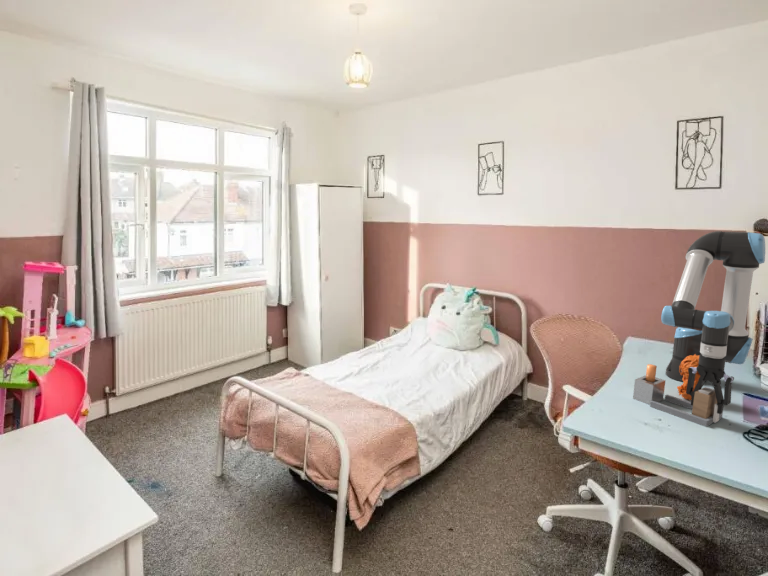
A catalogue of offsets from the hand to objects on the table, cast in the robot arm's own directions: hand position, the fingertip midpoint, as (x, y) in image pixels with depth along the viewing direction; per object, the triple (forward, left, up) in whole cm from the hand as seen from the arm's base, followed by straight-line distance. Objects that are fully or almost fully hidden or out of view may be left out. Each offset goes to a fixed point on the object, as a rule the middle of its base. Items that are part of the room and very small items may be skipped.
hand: (705, 417), depth 166 cm
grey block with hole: (0, -20, 0) cm, 20 cm away
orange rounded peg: (0, -20, +7) cm, 21 cm away
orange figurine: (-16, -12, -1) cm, 20 cm away
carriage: (0, -1, 0) cm, 1 cm away
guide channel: (0, -7, -1) cm, 7 cm away
